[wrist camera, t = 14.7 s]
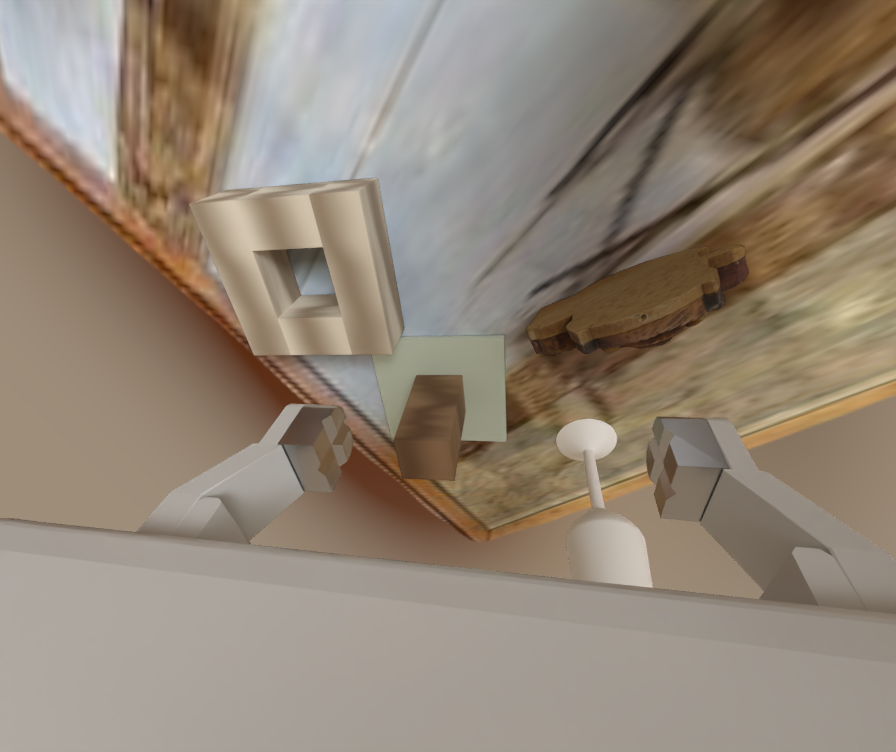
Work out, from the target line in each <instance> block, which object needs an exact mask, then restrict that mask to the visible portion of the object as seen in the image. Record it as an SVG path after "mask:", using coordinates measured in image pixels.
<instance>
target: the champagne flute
mask: <svg viewBox="0 0 896 752" xmlns="http://www.w3.org/2000/svg"><path fill="white" fill-rule="evenodd" d="M616 443H617V435H616V433H615V431H614V429H613V428H612V427H611V426H610V425H608V424H607V423H605V422H603V421H600V420H596V419H581V420H576V421H573V422H571V423H569V424H567V425H565V426H564V427H563V428H562V429H561V430H560V431H559V433H558V435H557V438H556V445H557V448H558V449H559V451H560V452H561V453H562V454H563V455H565V456H566V457H568V458H570V459H573V460H577V461H584V464H585V470H586V476H587V482H588V488H589V494H590V500H591V506H592V510H590V511H588V512H587V513H585V514H584V515H582V516H581V517H579V518H578V519H577V520H576V521H575V523H574V524H573V525H572V526H571V528H570V530H569V532H568V534H567V537H566V549H567V554H568V559H569V564H570V569H571V574H572V578H573V579H575V580H584V581H594V582H603V583H613V584H622V585H631V586H641V587H650V588H653V587H652V580H651V574H650V568H649V561H648V555H647V549H646V542H645V539H644V537H643V535H642V533H641V531H640V530H639V529H638V528H637V527H636V526H635V525H634V524H633V523H632V522H631V521H629V520H628V519H627V518H625V517H624V516H622V515H620V514H618V513H615V512H613V511H611V510H608V509H605V507H604V502H603V497H602V492H601V487H600V482H599V477H598V471H597V466H596V461H595V460H597V459H600V458H602V457H605V456H606V455H608V454H609V453H610V452H611V451H612V450H613V449H614V448H615V446H616Z"/></svg>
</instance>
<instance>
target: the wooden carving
mask: <svg viewBox="0 0 896 752" xmlns="http://www.w3.org/2000/svg"><path fill="white" fill-rule="evenodd" d="M745 255H746V249H745V246H742V245H733V246H727V247H724V248H721V249H719V250H716V251H713V252H711V253H709V252H708V247H706V246H703V247H697V248H692V249H688V250H685V251H681V252H678V253H674V254H670V255H667V256H663V257H660V258H656V259H653V260H650V261H647V262H644V263H641V264H638V265H635V266H632V267H630V268H628V269H624V270H622V271H620V272H618V273H615V274H613V275H610V276H608V277H606V278H604V279H602V280H600V281H598V282H596V283H594V284H592V285H590V286H588V287H586V288H585V289H583V290H582V291H580V292H579V293H577V294H575V295H573V296H571V297H569V298H566V299H563V300H560V301H557V302H554V303H552V304H550V305H547V306H545V307H543V308H542V309H540V310H539V312H538V313H537V316H536V317H535V318H534V319H533V321H532V323H531V324H530V325H529V326H527V328H526V333H527V335H528V337H529V339H530V341H531V343H532V345H533V347H534V350H535V351H536V353H537V354H557V353H562V352H564V351H569V350H573V349H574V348H576V347H577V349H578V350H579V351H581V352H583V353H584V354H588V353H591V352H593V351H595V350H596V349H597V348H601V349H602V350H603V351H606V352H612V351H615V350H619V349H620V348H621V347H635V348H650V347H655V346H659V345H663V344H665V343H666V342H668V341H669V340H670V339H671V338H672V336H673V335H675V334H676V333H678V332H679V331H680V330H682V329H683V327H685V326H687V327H691V326H695V325H697V324H699V323H700V322H701V321H702V320H703V319H704V318H705V314H707V313H708V312H710V311H713V310H718V309H720V308H721V307H723V305H724V304H725V296H724V293H723V291H725V290H728V289H730V288H732V287H734V286H736V285H738V284H740V283H742V282H743V281H744V280H745V279H746V278H747V276H748V274H749V270H748V267H747V264H746V260H745Z"/></svg>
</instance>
